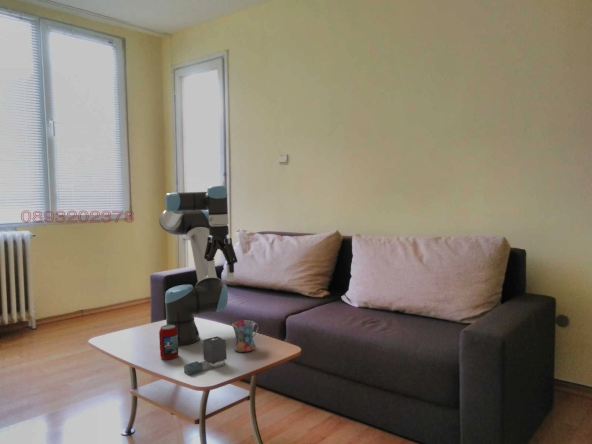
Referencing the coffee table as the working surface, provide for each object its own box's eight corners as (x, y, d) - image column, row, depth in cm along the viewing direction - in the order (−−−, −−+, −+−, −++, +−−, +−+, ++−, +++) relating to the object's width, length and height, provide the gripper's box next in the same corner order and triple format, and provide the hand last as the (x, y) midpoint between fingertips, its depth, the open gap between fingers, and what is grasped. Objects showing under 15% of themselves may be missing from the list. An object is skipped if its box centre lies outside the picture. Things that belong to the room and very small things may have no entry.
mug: (242, 355, 172) (241, 328, 172) (228, 350, 179) (227, 324, 178) (266, 347, 181) (265, 321, 180) (251, 342, 187) (251, 317, 187)
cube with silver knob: (212, 363, 159) (211, 342, 159) (203, 359, 164) (202, 339, 163) (226, 359, 163) (225, 338, 163) (217, 355, 168) (216, 335, 167)
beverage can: (168, 361, 168) (167, 330, 168) (156, 358, 172) (155, 327, 171) (182, 355, 174) (180, 325, 173) (170, 353, 178) (168, 323, 177)
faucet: (182, 371, 158) (181, 351, 158) (218, 359, 169) (217, 340, 168) (191, 376, 153) (190, 356, 153) (228, 364, 163) (227, 345, 163)
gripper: (194, 225, 183) (196, 276, 184) (228, 227, 164) (230, 284, 166) (210, 223, 188) (212, 274, 189) (245, 225, 169) (247, 281, 171)
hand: (221, 278), depth 177 cm, fingers open, 13 cm apart
